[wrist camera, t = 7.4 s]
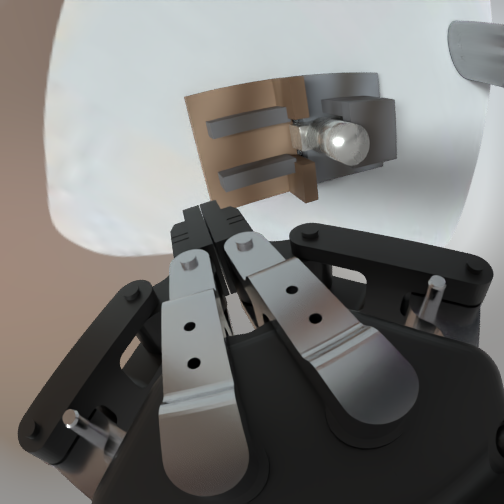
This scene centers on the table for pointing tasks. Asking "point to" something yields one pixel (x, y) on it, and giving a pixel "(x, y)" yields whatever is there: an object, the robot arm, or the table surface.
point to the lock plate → (284, 134)
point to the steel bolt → (332, 139)
